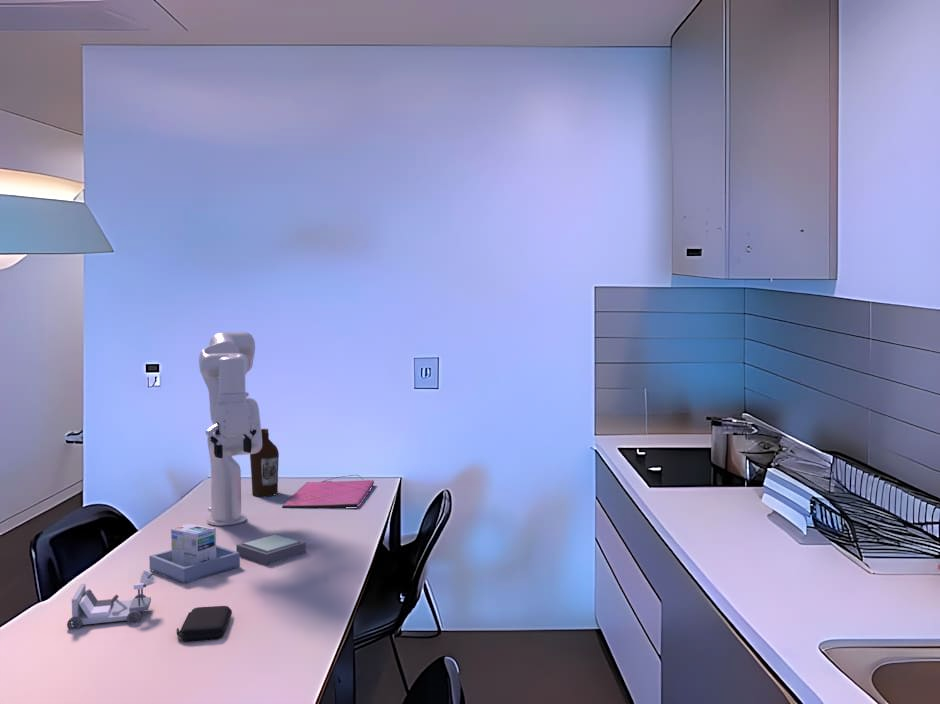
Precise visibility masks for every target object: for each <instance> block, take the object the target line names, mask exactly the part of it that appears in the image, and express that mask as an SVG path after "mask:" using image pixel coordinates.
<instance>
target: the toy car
mask: <svg viewBox="0 0 940 704" xmlns="http://www.w3.org/2000/svg"><path fill="white" fill-rule="evenodd" d="M155 573H156V572H153V571H152V572H151V573H150V572H149V571H147V570H143V571H142V574H141V577H140V579H139V581H140V582H139V583H134V584H133V590H137V595H135V596H134V598H132V599H130V600H129V599H127V600H119V597H120V596H119V595H118V594H115V595H114V596H113V597H112V598H110V599H100V600H98V599H97V598H96V596H95V593H93V591H92V590H91V588H89V589H86V587H87V586H86V583H80V585H79V587H78V588H77V590H76V591H75V593H74V595H73V597H72V598H71V617H70V618H69V619H68V621H67V623H66V627H67V629H68V630H70V631H71V630H80V629H81V627H82V626H83V625H92V624H102V623H112V622H123V621H126V622H127V623H128V624H135V623H136V624H137V623H140V622H141V619H142V614H141V612H146V611H149V608H150V605H151V602H152V597H151V596H148V597H147V596H146V595H145V594H144V592H143V591H144V588H147V586H150V585H153V584H156V583H157V579H156V577H155V576H154V574H155Z"/></svg>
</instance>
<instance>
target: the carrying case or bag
mask: <svg viewBox="0 0 940 704" xmlns="http://www.w3.org/2000/svg"><path fill="white" fill-rule="evenodd" d="M232 614H233V610H232V609H231V608H230V607H229V606H227V605H217V606H215V605H214V606H199V607H194V608H193V609H192V610H191V611H190V612H188V614H187V615H186V618H185V620H184V622H183V624H182V626H181V628H179V627H177V628H176V636H177V637H178V638H180V639H181V640H182V641H184V642H189V643H190V642H201V641H202V642H203V641H217V640H220V639H222V637H223V636H225V634H226V632H227V629H228V626H229V624H230V620H231V617H232Z"/></svg>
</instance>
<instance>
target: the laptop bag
mask: <svg viewBox="0 0 940 704" xmlns="http://www.w3.org/2000/svg"><path fill="white" fill-rule="evenodd" d="M351 476H354V474H352V475H351V474H350V475H348V477H351ZM356 476H357V477H360V478H361V479H363V477H362V476H360V475H358V474H356ZM343 477H345V478H346V475H343V476H341V478H343ZM339 478H340V476H337V477H333V478H330V479H326V480H323V481H307V482H306V483H305V484H303V485H302V486H301V487H300V488H299V489H298V490H297V491H295V493H294V494H292V495H291V496H290V497H289V498H288V500H286V501H285V502H284V503H283V505H281V508H282V509H318V508H346V507H358V505H359V504H360V503H361V502H362V500H363V499H364V497H365V496H366V495H367V493H368V492H369V490H370V488H371V487H372V486H373V484H374V485H375V480H373V479H372V480H369V479H367V480H346V481H344V480H342V481H341V480H340V481H330V480H334V479H339ZM373 487H374V486H373ZM369 493H370V492H369ZM369 493H368V494H369ZM367 496H368V495H367ZM367 496H366V497H367ZM364 500H365V499H364ZM364 500H363V501H364ZM362 503H363V502H362ZM362 503H361V504H362ZM358 508H359V507H358Z"/></svg>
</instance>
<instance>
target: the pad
mask: <svg viewBox="0 0 940 704" xmlns="http://www.w3.org/2000/svg"><path fill="white" fill-rule="evenodd" d="M271 535H272V536H270V535H267V536H268V537H266V536H264V537H265V538H263V537H260V538H261V539H259V538H257V539H258V540H256V539H253V540H254V541H252V540H250V541H251V542H248V541H246V542H247V543H245V542H243V543H244V546H247V547H250V548H253V549H256V550H259V551H262V552H266V553H269V552H272V551H275V550H279V549H282V548H285V547H289V546H292V545H295V544H299V543H298V541H295V540H296V539H295V540H291V539H288V538H285V537H286V536H285V537H281V536H278V535H279V534H278V535H273V534H271Z"/></svg>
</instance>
